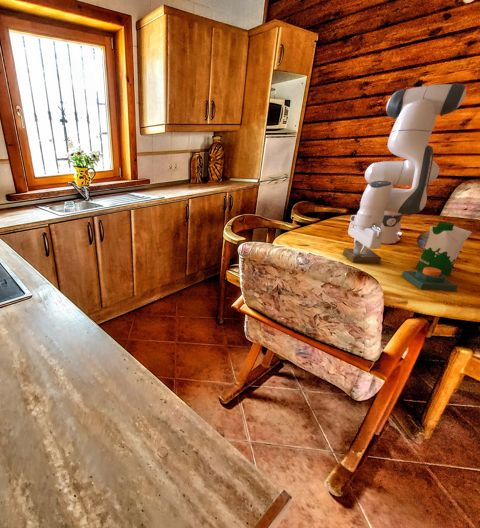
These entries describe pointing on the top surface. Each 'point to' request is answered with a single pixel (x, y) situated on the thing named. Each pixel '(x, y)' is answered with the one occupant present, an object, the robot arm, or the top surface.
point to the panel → (362, 256)
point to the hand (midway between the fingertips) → (359, 251)
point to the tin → (423, 239)
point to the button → (431, 271)
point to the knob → (357, 249)
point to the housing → (429, 281)
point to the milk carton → (443, 247)
